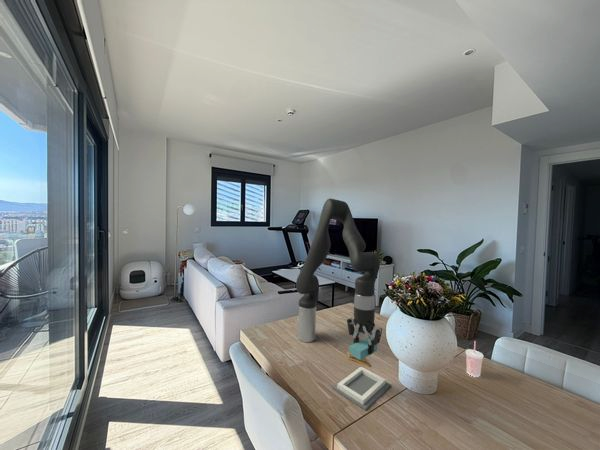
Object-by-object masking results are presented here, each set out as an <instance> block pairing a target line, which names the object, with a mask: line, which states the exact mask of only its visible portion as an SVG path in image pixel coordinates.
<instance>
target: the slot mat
mask: <svg viewBox="0 0 600 450" xmlns="http://www.w3.org/2000/svg"><path fill="white" fill-rule="evenodd" d="M391 386H392V385H391V384H390V383H389V382H388V381H387V379H386V378H383V377H382V376H380V375H378V374H376V373H374V372H373V371H370V370H369V369H366V368H364V367H363V366H360V367H357V368H356V369H354V370H353V371H352V372H350V374H348V375H346V376H345V377H344V378H342V379H341V380H339V381H338V382H337V383H336V384H335V385H332V387H331V389H332V390H333V391H335V392H336V393H338V394H339V395H341V396H342V397H344V398H346V399H347V400H349V401H350V402H351V403H353V404H354V405H355V406H358V407H359V408H361V409H363V411H367V409H369V408H370V407H371V406H372V405H373V403H374V402H376V401H377V400H378V399H379V398H380V397H381V396H382V395H383V394H384V393H385V392H386V391H387V390H388V389H389V388H391Z"/></svg>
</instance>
